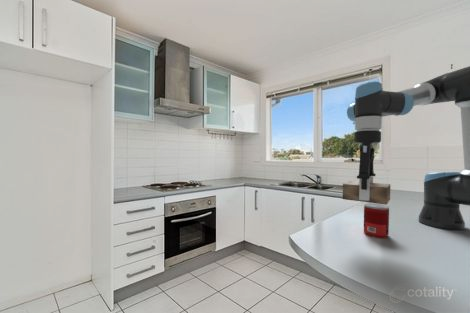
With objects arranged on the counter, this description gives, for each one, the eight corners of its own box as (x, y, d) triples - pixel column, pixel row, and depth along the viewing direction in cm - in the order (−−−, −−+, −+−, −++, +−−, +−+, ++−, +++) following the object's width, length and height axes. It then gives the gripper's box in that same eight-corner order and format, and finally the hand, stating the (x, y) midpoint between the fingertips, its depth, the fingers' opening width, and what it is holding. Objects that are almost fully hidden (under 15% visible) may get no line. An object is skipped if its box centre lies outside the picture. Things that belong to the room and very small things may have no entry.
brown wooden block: (390, 199, 74) (390, 184, 74) (386, 204, 66) (387, 187, 66) (350, 194, 82) (350, 181, 82) (342, 199, 73) (342, 183, 73)
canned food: (392, 239, 80) (393, 208, 80) (367, 237, 82) (368, 207, 82) (382, 232, 88) (383, 204, 88) (360, 230, 89) (361, 202, 89)
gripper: (359, 134, 85) (358, 191, 86) (348, 127, 66) (347, 201, 66) (383, 133, 81) (381, 193, 81) (378, 126, 62) (377, 205, 62)
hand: (366, 197), depth 74 cm, fingers closed on brown wooden block, 11 cm apart
